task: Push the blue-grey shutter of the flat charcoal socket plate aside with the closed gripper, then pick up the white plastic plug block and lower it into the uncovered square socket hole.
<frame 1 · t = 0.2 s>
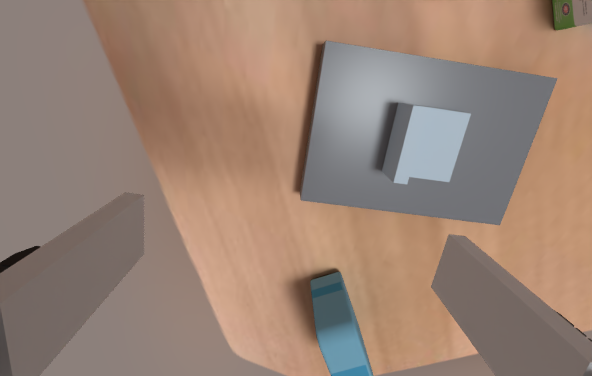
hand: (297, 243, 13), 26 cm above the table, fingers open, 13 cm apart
shutter: (431, 146, 33), point 5 cm above the table, slide at 0.0 cm
socket block: (412, 138, 39), on the table
data package: (335, 302, 47), on the table
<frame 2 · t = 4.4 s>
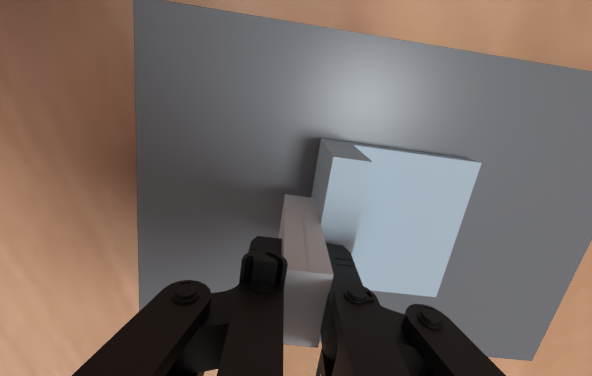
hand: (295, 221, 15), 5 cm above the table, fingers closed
shutter: (393, 238, 15), point 5 cm above the table, slide at 0.2 cm, touching gripper
socket block: (362, 198, 20), on the table
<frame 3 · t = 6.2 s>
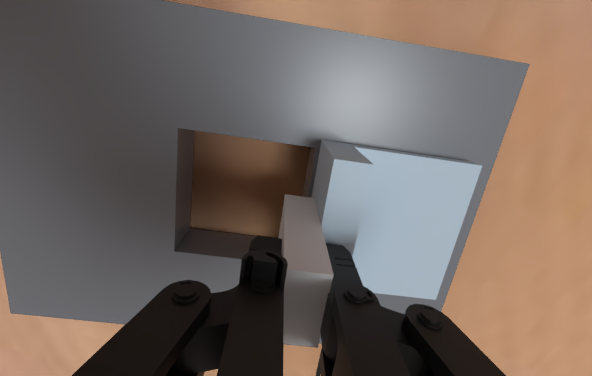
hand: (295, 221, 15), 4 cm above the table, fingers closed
shutter: (393, 240, 15), point 5 cm above the table, slide at 7.7 cm, touching gripper
socket block: (248, 185, 19), on the table
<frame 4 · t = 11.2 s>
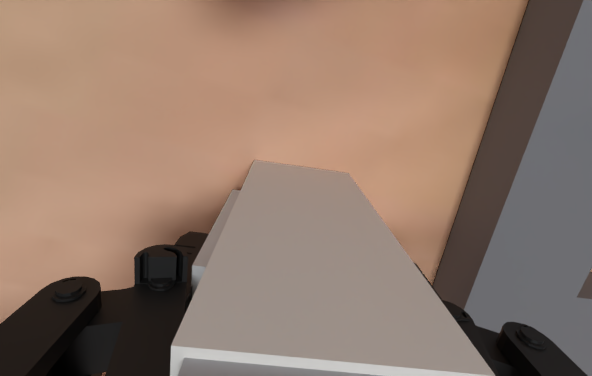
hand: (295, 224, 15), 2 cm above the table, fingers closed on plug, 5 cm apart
plug: (294, 210, 17), on the table, touching gripper
when the fingers open (4 cm above the table, at t = 16.8 s): plug drops 2 cm, resting in socket block.
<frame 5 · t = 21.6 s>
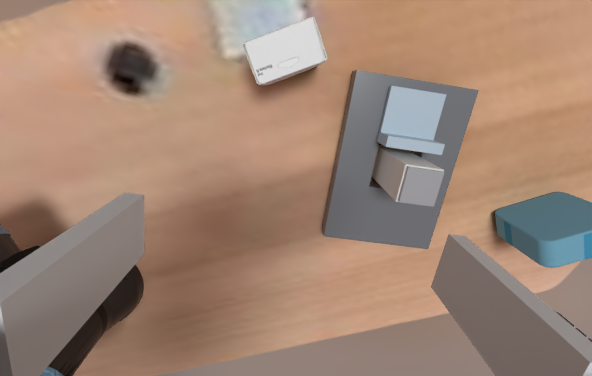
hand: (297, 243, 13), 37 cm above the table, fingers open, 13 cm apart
shutter: (415, 119, 43), point 5 cm above the table, slide at 7.7 cm
ink box: (286, 60, 45), on the table
plug: (389, 163, 50), resting in socket block
socket block: (389, 163, 50), on the table
data package: (524, 211, 54), on the table
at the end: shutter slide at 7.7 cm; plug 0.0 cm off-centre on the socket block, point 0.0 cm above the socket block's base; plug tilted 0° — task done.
